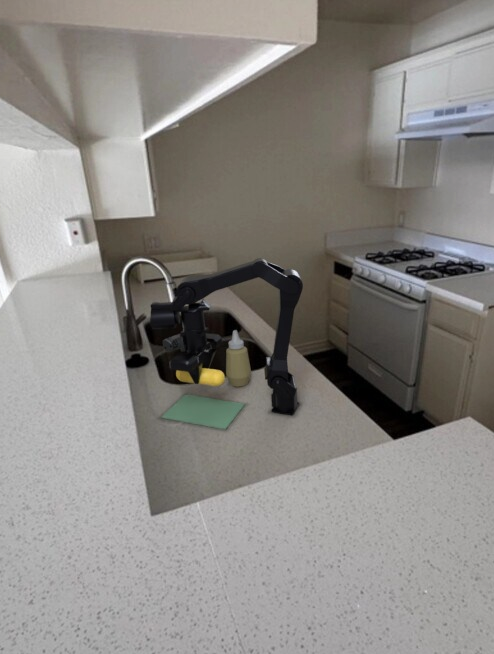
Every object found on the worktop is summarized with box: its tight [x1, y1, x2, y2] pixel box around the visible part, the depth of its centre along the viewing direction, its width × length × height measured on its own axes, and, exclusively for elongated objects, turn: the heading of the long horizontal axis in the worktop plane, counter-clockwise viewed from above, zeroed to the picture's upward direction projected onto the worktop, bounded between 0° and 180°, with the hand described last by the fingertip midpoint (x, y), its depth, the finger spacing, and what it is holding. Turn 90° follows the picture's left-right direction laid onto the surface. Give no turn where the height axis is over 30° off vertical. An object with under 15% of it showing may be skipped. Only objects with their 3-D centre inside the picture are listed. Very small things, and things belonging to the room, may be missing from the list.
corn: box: [175, 368, 226, 387], centre depth 114 cm, size 14×4×4 cm, turn 71°
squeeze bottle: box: [225, 329, 252, 388], centre depth 131 cm, size 8×8×18 cm
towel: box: [161, 393, 246, 431], centre depth 120 cm, size 20×13×1 cm, turn 70°
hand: (200, 379), depth 114 cm, fingers closed on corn, 4 cm apart
